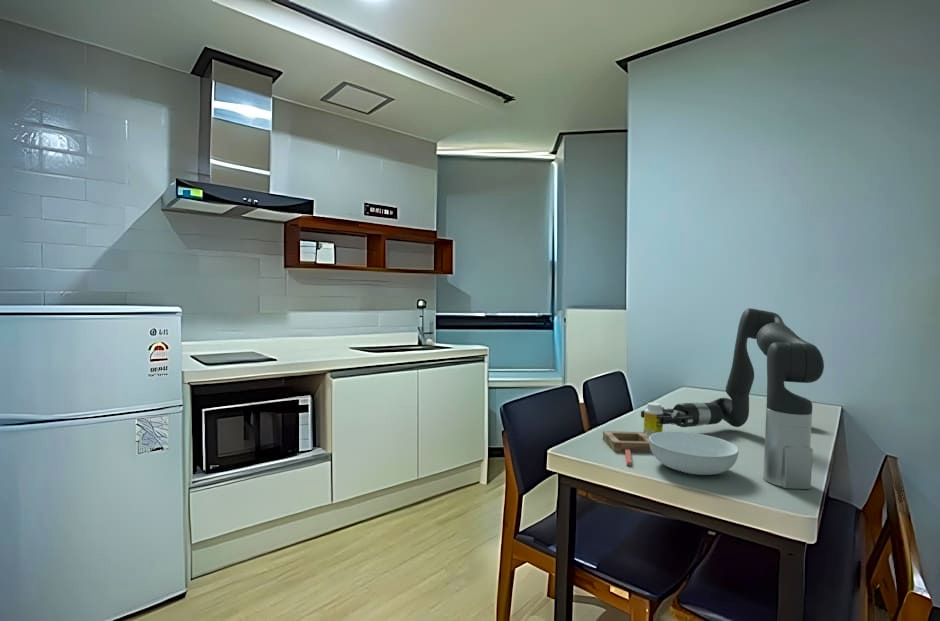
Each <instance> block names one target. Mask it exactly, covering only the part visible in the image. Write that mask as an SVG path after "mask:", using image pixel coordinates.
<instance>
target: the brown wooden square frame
mask: <svg viewBox="0 0 940 621" xmlns="http://www.w3.org/2000/svg"><path fill="white" fill-rule="evenodd" d="M602 440H603V441H604V442H605V444H606V445H607V446H608V447H609V446H610V447H609V448H610V449H611V450H612V451H613V452H621V451H625V449H630V453H652V451H651V449H650V444H649V437H648V436H647V435H646V434H644V431H620V430H619V431H618V430H617V431H616V430H615V431H613V430H602Z"/></svg>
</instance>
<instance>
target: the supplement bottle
mask: <svg viewBox="0 0 940 621" xmlns="http://www.w3.org/2000/svg"><path fill="white" fill-rule="evenodd" d="M646 406H647V407H646V409H644V410H645V411H644V418H643V433H644V434H646V435H647V436H648V437H649V436H650V435H652V434H654V433H658V432H663V426H664V424H659V418H660V417H663V411H662V410H660V409H661V407H662V404H660V402H659V403H658V402H647V405H646Z"/></svg>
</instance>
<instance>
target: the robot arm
mask: <svg viewBox="0 0 940 621" xmlns="http://www.w3.org/2000/svg"><path fill="white" fill-rule="evenodd" d="M748 339H753V340H756V344H757V347H758V349H759V350H760V351H761V352H762V353H763V354H764V356H766V377H767V378H766V381H767V382H766V412H765V414H766V415H765V430H764V431H765V433H764V452H763V453H764V454H763V479H764V480H765V481H766V482H768V483H769V484H772V485H775V486H778V487H781V488H783V489H792V490H793V489H794V490H795V489H796V490H797V489H799V490H800V489H801V490H811V489H812V471H813V470H812V469H813V452H814V450H813V448H812V446H811V441H812V438H811V437H812V424H813V422H812V421H813V403H812V401H811V400H810V399H808V398H806V397H803V396H801V395H799V394H795V393H793V392H792V391H790V390H789V389H787V387H786V386H785V382H789V383H800V384H801V383H804V384H808V383H809V384H811V383H815V382H816V381H818V380H820V378H821V377H822V375H823V373H824V370H825V369H824V368H825V362H824V358H823V355H822V353H821V351H820V349H819V348H818V347H817V346H816V345H814V344H813V343H810V342H808V341H806V340H804V339H802V337H799V335H797V334H796V333H795V332H794V331H793V330H792V329H791V328H790V327H788V325H787V324H785V323H784V320H783V319H782V317H781V315H780V314H777V313H776V312H773V311H767V310H761V309H756V308H751V307H748V308H745V309H744V310H743V312H742V314H741V316H740V319H739V322H738V328H737V333H736V339H735V344H734V351H733V358H732V362H731V363H732V364H731V369H730V372H729V375H728V379H727V383H726V385H725V393H726V395H727V396H729V398H727V397H720V398H716V399H715V400H712V401H710V402H685V403H684V402H682V403H677V404H675V405H674V406H673V408H672V407H671V408H670V407H669V408H665V407H664V406H661V409H660V410H662V411H663V417H660V418H659V424H663V425H676V426H677V427H680V428H689V427H690V428H693V427H702V426H706V425H708V426H709V425H717V424H718V423H720V422H722V420H723V421H724V422H726V423H727V424H729V425H730V426H731V427H735V428H738V427H739V428H740V427H742V426H744V425H745V424H746V422H747V421H748V419H749V415H750V393H751V389H752V387H753V384H754V380H755V369H754V366H753V363H752V361H751V359H750V356H749V353H748V346H747V345H748ZM644 411H645V409H643V410H641V411H640V417H641V418H642V419H644Z"/></svg>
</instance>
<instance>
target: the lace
mask: <svg viewBox="0 0 940 621" xmlns="http://www.w3.org/2000/svg"><path fill="white" fill-rule="evenodd" d="M624 454H625V462H627V463H626V466H627V465H629V466H628V467H633V465H632V464H633V460H632V455H631V454H632V453H631V452H630V449H625V452H624Z"/></svg>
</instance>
